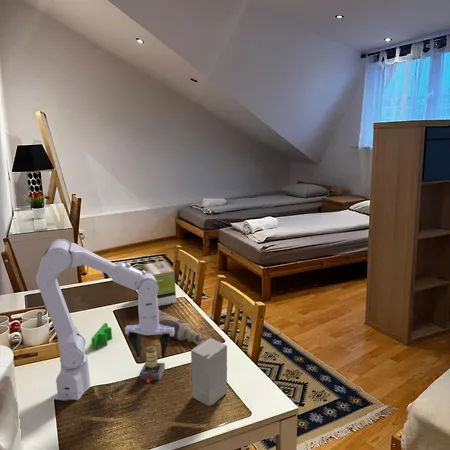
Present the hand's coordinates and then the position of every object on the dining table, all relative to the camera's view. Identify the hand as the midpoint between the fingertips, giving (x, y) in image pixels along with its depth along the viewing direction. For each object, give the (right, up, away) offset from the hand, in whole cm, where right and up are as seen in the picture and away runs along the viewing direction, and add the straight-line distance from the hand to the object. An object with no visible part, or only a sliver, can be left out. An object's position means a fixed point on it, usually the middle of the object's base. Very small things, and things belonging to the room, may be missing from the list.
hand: (151, 355), depth 126 cm
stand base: (0, -7, +2) cm, 7 cm away
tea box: (-6, +7, +58) cm, 59 cm away
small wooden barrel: (0, -3, +1) cm, 3 cm away
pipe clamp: (-21, -2, +22) cm, 31 cm away
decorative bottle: (+3, -1, +26) cm, 26 cm away
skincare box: (+18, -9, -9) cm, 22 cm away
